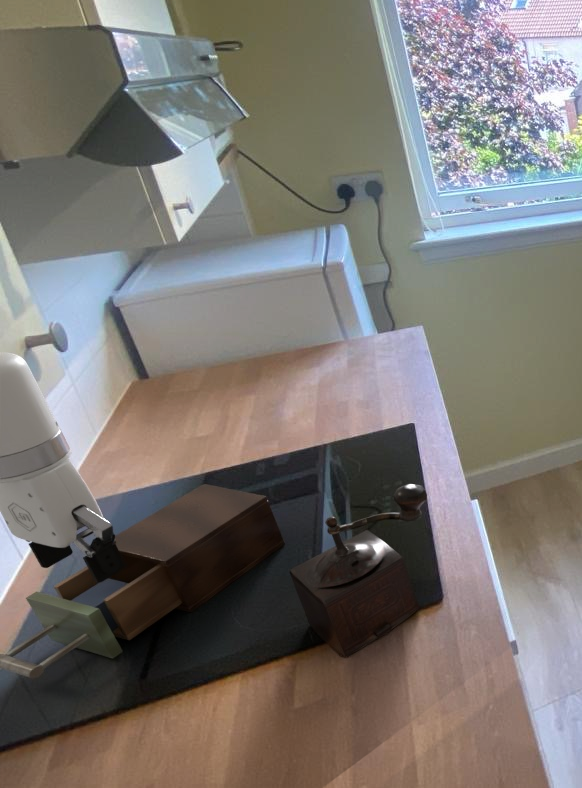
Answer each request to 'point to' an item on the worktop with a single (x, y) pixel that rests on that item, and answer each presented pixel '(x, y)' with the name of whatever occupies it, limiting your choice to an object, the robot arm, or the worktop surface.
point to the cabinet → (205, 540)
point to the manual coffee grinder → (359, 581)
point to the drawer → (97, 613)
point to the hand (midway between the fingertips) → (84, 567)
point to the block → (101, 598)
